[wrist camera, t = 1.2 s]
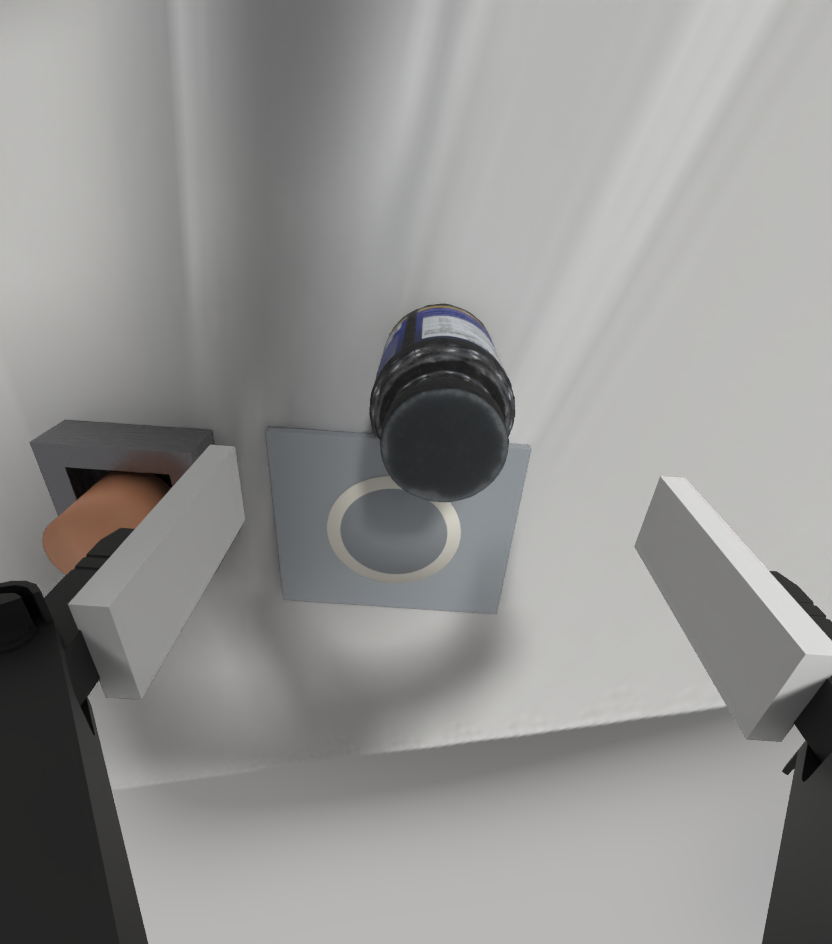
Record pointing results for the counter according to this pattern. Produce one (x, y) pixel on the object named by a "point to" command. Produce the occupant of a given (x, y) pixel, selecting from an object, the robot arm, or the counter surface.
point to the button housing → (112, 454)
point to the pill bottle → (442, 405)
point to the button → (101, 515)
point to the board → (385, 528)
